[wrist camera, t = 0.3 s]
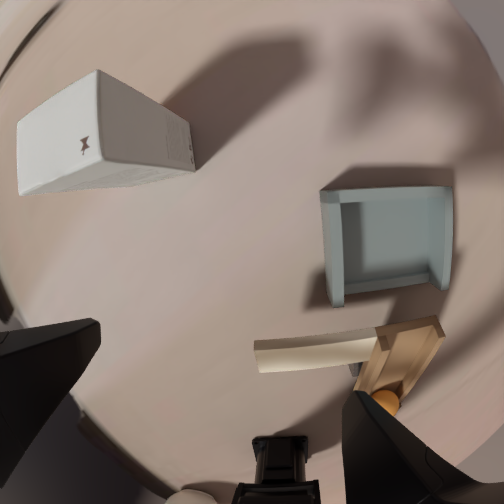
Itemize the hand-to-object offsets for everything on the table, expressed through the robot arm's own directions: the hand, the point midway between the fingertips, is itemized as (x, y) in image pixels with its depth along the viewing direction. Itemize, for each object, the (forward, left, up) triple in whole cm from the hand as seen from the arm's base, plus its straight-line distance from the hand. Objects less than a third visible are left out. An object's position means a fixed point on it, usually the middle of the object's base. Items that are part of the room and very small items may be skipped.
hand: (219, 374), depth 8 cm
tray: (+1, -10, -14) cm, 17 cm away
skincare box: (+9, +7, -14) cm, 18 cm away
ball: (-14, -10, -10) cm, 20 cm away
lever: (-10, -6, -11) cm, 16 cm away
